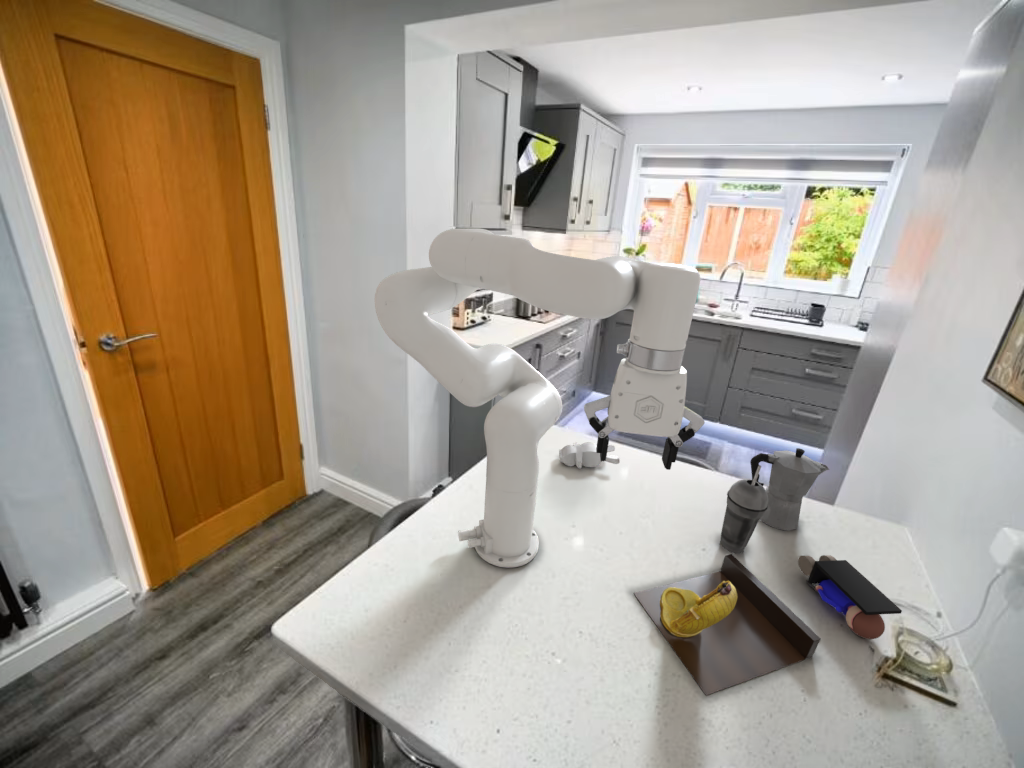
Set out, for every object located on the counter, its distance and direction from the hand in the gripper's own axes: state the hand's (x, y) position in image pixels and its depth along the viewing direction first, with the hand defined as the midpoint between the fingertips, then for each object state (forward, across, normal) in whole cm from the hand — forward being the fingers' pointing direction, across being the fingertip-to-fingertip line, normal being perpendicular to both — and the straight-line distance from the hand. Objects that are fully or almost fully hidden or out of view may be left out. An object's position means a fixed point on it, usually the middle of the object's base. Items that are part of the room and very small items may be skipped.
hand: (633, 460), depth 67 cm
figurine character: (+27, +40, +4) cm, 48 cm away
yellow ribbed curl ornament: (+27, +12, -6) cm, 30 cm away
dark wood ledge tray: (+26, +17, -4) cm, 32 cm away
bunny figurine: (+26, -3, +41) cm, 49 cm away
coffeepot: (+27, +39, +28) cm, 55 cm away
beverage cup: (+27, +26, +16) cm, 41 cm away
